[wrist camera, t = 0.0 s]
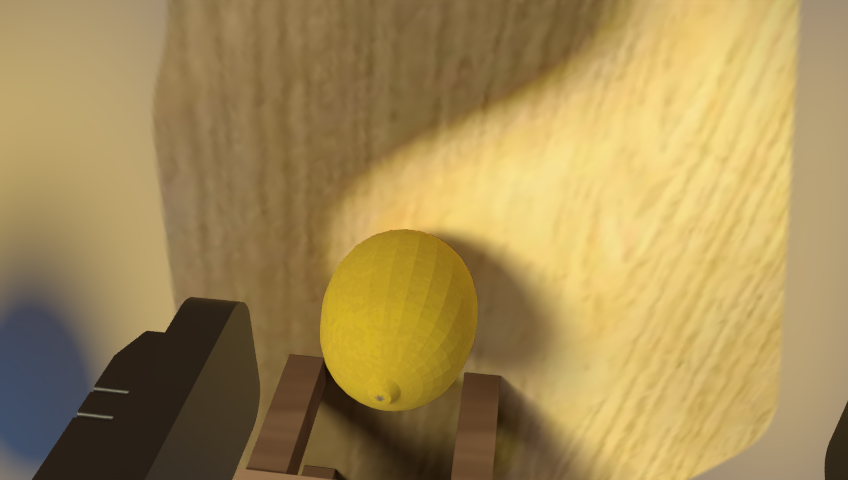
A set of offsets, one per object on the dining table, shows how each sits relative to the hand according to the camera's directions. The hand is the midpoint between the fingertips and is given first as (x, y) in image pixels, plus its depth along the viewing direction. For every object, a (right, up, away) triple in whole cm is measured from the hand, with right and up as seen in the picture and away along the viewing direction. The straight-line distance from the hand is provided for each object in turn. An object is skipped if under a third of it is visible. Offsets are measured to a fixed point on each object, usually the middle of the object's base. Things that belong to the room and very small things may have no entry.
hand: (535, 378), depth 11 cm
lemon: (-2, +2, +21) cm, 21 cm away
